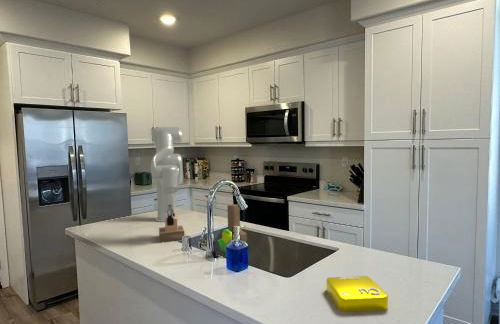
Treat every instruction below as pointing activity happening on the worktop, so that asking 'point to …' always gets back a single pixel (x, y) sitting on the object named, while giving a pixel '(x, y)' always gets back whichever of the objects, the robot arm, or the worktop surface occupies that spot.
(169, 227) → the terracotta cube
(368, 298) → the element tile
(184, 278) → the worktop surface
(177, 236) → the walnut base block
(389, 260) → the worktop surface
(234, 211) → the wooden block
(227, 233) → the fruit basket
